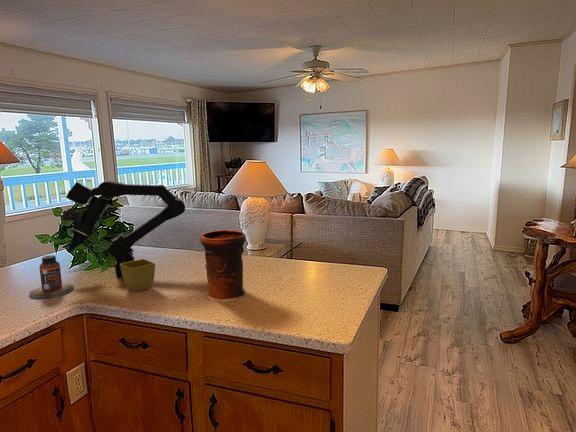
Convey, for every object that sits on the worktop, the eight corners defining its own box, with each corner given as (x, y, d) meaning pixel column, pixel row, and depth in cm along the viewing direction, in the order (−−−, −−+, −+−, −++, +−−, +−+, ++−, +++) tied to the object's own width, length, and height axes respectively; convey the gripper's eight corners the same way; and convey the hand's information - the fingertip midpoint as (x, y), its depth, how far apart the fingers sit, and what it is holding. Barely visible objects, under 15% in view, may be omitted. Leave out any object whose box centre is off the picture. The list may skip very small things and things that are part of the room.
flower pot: (146, 282, 145) (144, 258, 143) (157, 288, 139) (155, 262, 137) (121, 289, 139) (119, 263, 137) (132, 295, 133) (130, 268, 131)
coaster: (74, 282, 146) (74, 280, 146) (72, 294, 134) (72, 292, 134) (32, 288, 141) (31, 286, 140) (26, 301, 129) (26, 299, 129)
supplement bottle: (49, 293, 133) (45, 260, 131) (38, 290, 136) (33, 258, 134) (66, 287, 139) (62, 255, 136) (55, 285, 141) (51, 253, 139)
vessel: (198, 289, 137) (196, 231, 133) (239, 283, 142) (238, 227, 139) (207, 304, 124) (205, 240, 120) (252, 298, 129) (251, 236, 126)
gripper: (72, 203, 152) (49, 240, 148) (70, 198, 136) (44, 240, 132) (101, 217, 156) (79, 253, 152) (102, 214, 140) (77, 255, 136)
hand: (69, 250), depth 143 cm, fingers open, 9 cm apart
